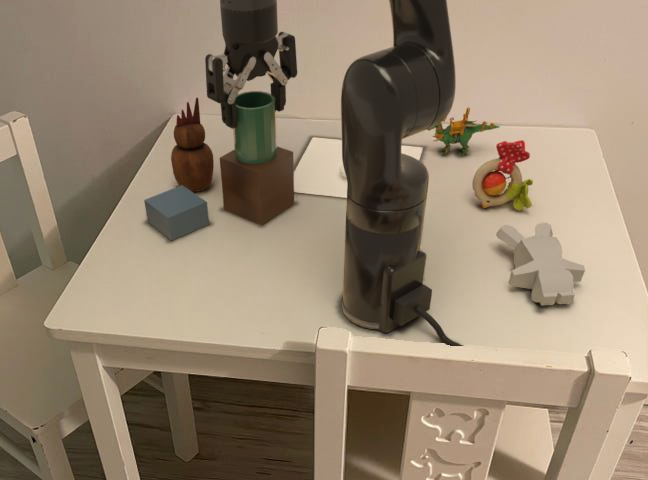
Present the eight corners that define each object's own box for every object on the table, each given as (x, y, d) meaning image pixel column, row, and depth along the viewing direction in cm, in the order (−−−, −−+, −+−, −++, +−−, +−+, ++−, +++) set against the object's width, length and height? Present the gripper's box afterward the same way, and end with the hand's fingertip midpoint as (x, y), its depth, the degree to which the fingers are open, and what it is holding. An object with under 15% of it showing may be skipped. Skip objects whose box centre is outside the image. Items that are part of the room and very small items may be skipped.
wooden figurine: (217, 178, 125) (209, 91, 115) (213, 195, 121) (204, 107, 111) (178, 178, 126) (167, 92, 116) (172, 195, 122) (160, 107, 112)
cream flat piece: (335, 182, 122) (336, 160, 119) (345, 160, 128) (346, 138, 125) (388, 188, 120) (390, 165, 117) (396, 165, 125) (398, 143, 123)
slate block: (209, 224, 114) (207, 201, 112) (171, 240, 111) (167, 217, 109) (184, 207, 119) (182, 184, 116) (147, 222, 116) (143, 199, 113)
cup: (285, 155, 111) (283, 100, 105) (252, 168, 108) (248, 112, 103) (259, 141, 115) (257, 87, 109) (227, 154, 112) (222, 99, 106)
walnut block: (294, 203, 118) (293, 151, 112) (262, 225, 113) (259, 172, 107) (256, 189, 122) (253, 138, 116) (223, 209, 118) (219, 157, 111)
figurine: (423, 149, 129) (428, 103, 124) (493, 148, 128) (502, 103, 123) (425, 157, 127) (430, 111, 122) (496, 156, 126) (505, 110, 121)
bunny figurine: (525, 289, 92) (493, 214, 102) (516, 317, 96) (486, 243, 106) (600, 283, 92) (561, 209, 102) (588, 312, 96) (551, 238, 106)
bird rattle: (487, 229, 113) (547, 206, 111) (467, 170, 107) (530, 144, 104) (478, 209, 118) (536, 186, 115) (459, 150, 111) (519, 125, 109)
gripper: (220, 18, 92) (230, 141, 102) (308, -8, 98) (308, 111, 108) (187, 5, 96) (200, 124, 107) (273, -18, 102) (277, 97, 113)
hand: (255, 118), depth 108 cm, fingers open, 8 cm apart
